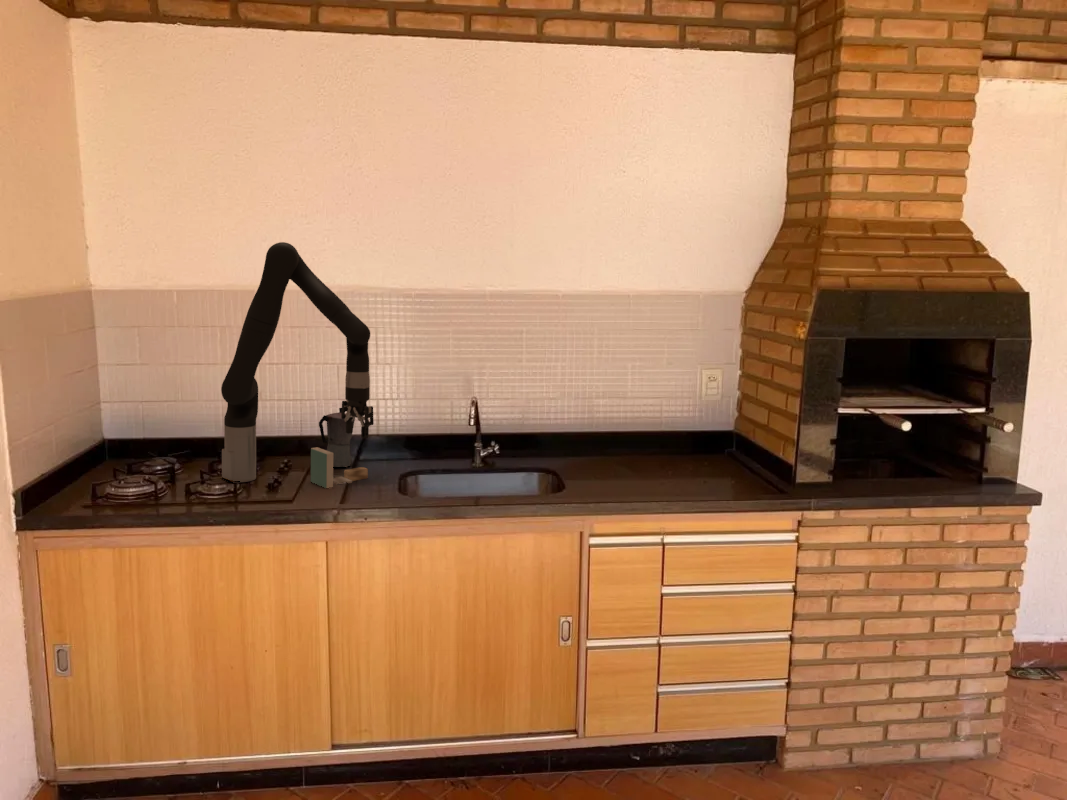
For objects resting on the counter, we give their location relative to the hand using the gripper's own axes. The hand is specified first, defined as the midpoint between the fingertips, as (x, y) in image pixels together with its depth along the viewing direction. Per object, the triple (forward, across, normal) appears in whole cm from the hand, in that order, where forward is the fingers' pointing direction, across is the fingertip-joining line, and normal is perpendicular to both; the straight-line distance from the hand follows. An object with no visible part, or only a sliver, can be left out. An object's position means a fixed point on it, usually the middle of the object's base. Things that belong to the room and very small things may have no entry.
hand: (357, 435), depth 257 cm
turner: (+14, 0, -3) cm, 15 cm away
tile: (+9, 0, -13) cm, 15 cm away
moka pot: (+14, -17, +4) cm, 23 cm away
